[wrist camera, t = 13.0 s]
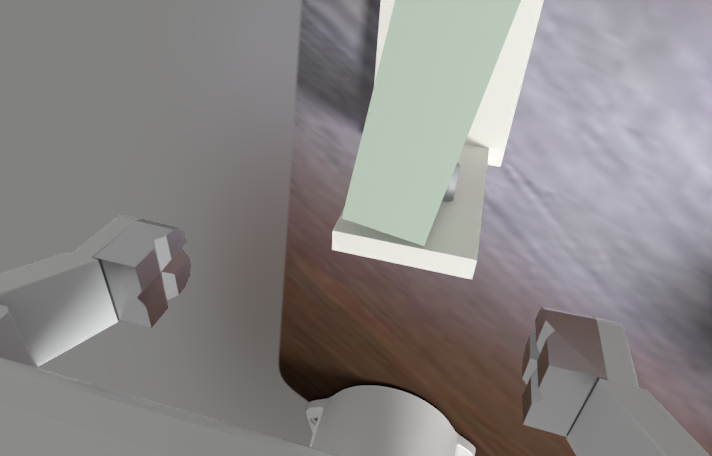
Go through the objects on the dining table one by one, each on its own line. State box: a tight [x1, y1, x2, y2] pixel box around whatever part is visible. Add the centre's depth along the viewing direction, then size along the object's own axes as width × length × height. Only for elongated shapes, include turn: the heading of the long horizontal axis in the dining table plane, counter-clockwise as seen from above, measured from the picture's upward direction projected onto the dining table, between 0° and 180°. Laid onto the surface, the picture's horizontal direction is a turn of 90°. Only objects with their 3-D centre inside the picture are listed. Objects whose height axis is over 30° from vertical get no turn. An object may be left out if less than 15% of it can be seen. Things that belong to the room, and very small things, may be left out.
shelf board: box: [342, 0, 521, 246], centre depth 21 cm, size 12×4×5 cm, turn 168°
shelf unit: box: [332, 0, 544, 279], centre depth 25 cm, size 16×9×13 cm, turn 177°
